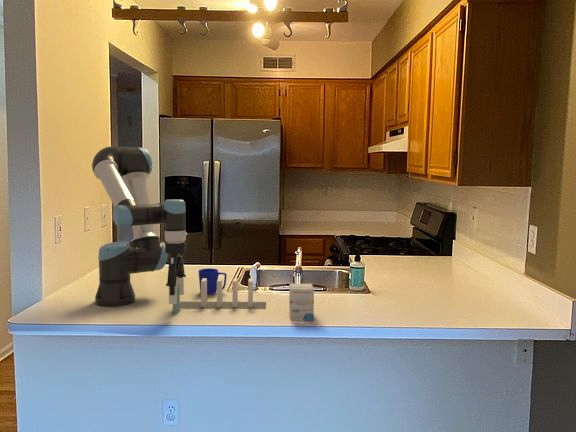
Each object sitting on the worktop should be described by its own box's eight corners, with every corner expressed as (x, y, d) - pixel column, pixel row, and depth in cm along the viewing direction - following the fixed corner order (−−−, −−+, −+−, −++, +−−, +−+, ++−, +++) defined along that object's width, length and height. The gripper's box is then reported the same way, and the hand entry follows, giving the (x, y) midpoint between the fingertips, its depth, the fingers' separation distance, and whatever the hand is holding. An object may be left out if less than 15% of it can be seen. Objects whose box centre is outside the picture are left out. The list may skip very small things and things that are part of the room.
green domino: (172, 314, 189) (172, 287, 188) (175, 310, 194) (175, 284, 193) (177, 314, 189) (176, 287, 188) (179, 310, 194) (179, 284, 193)
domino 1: (201, 306, 198) (200, 281, 197) (203, 303, 203) (202, 278, 202) (205, 306, 198) (205, 281, 197) (207, 303, 203) (206, 278, 202)
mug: (223, 297, 214) (223, 273, 213) (195, 295, 216) (195, 271, 215) (229, 292, 222) (229, 269, 221) (202, 290, 224) (202, 267, 223)
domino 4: (248, 307, 198) (248, 281, 197) (248, 303, 203) (248, 278, 202) (252, 307, 198) (252, 281, 197) (252, 303, 203) (253, 278, 202)
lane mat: (175, 309, 195) (175, 308, 195) (180, 302, 205) (180, 301, 205) (265, 309, 196) (265, 308, 196) (266, 302, 206) (266, 301, 206)
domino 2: (216, 306, 198) (216, 281, 197) (218, 303, 203) (218, 278, 202) (221, 306, 198) (220, 281, 197) (222, 303, 203) (222, 278, 202)
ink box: (311, 313, 192) (312, 283, 190) (313, 320, 183) (314, 288, 182) (288, 313, 191) (289, 283, 190) (289, 320, 183) (290, 288, 182)
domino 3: (232, 306, 198) (232, 281, 197) (233, 303, 203) (233, 278, 202) (236, 307, 198) (236, 281, 197) (237, 303, 203) (237, 278, 202)
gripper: (179, 246, 176) (180, 307, 178) (191, 237, 201) (192, 291, 203) (157, 246, 176) (158, 308, 178) (172, 237, 201) (173, 291, 203)
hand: (176, 299), depth 190 cm, fingers open, 13 cm apart
